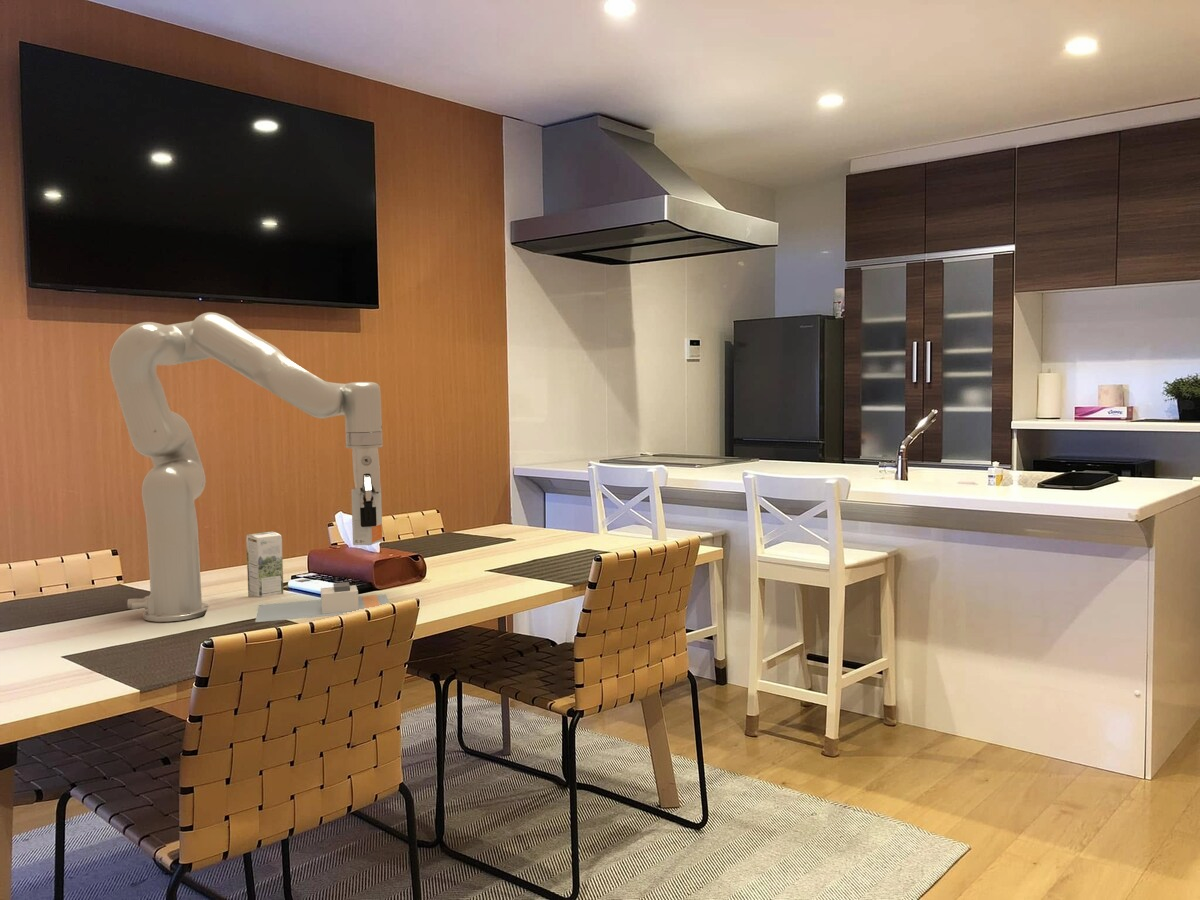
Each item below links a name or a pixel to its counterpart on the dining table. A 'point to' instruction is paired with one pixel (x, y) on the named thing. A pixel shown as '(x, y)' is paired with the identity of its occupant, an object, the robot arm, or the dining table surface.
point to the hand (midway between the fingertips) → (367, 523)
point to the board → (309, 608)
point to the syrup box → (264, 564)
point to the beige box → (339, 598)
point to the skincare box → (360, 533)
